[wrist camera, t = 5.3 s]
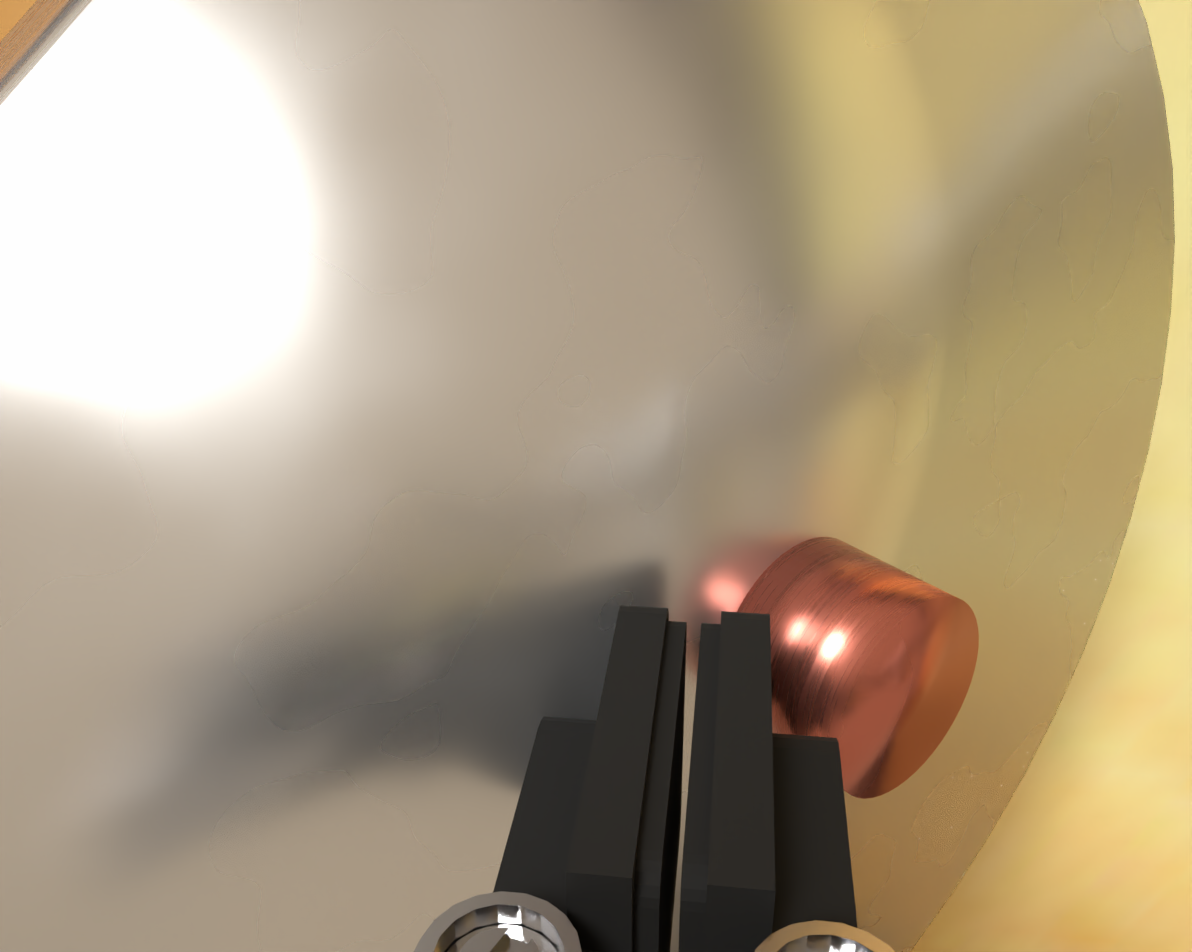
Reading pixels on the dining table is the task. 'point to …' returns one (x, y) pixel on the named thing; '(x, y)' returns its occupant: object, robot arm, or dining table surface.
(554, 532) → the cooker lid
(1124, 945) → the dining table surface
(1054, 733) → the dining table surface
